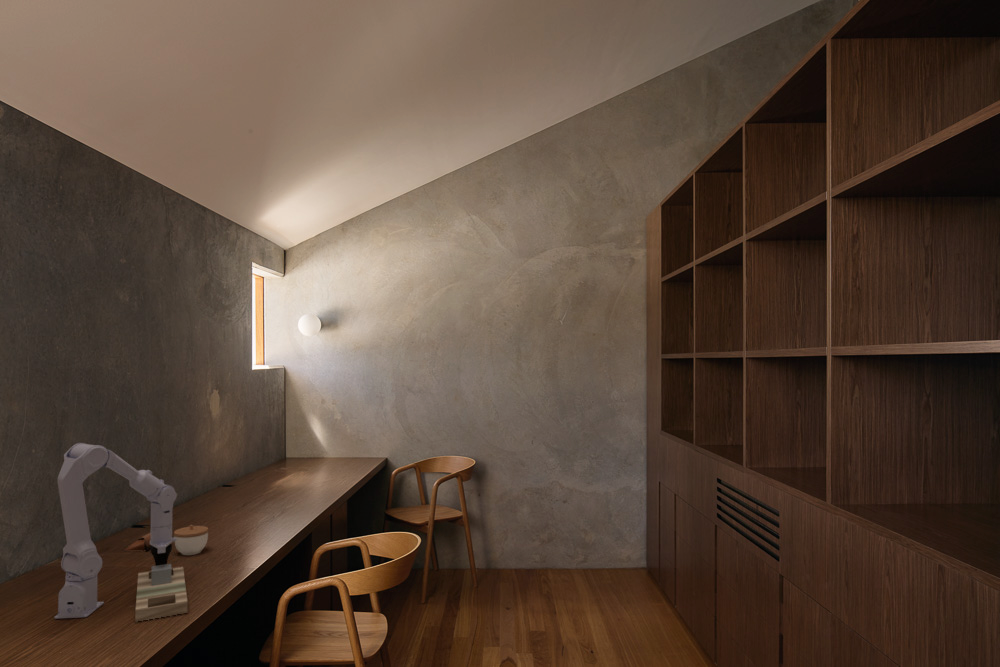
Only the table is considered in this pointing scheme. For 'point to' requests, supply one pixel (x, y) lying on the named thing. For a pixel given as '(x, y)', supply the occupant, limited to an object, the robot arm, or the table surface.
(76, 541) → the robot arm
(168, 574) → the block
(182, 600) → the trap deck
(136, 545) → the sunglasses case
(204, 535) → the lidded jar
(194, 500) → the table surface
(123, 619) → the table surface
